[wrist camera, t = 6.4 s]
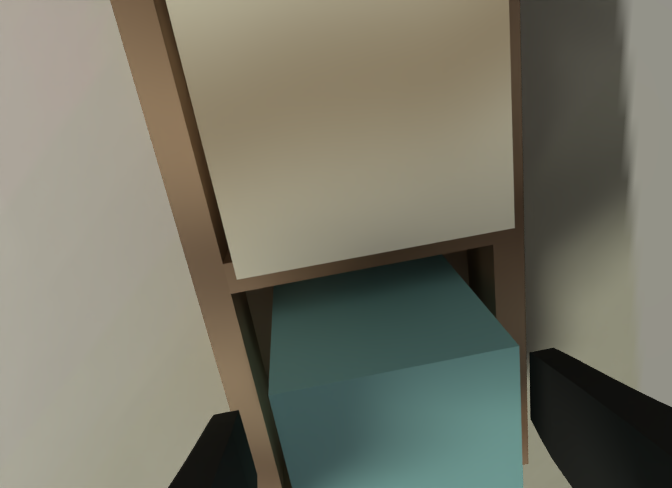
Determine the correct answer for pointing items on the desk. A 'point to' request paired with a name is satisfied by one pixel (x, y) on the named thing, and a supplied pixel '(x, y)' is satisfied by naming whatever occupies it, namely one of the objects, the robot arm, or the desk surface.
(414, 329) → the teal block
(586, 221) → the desk surface
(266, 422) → the walnut puzzle board
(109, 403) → the desk surface
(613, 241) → the desk surface
